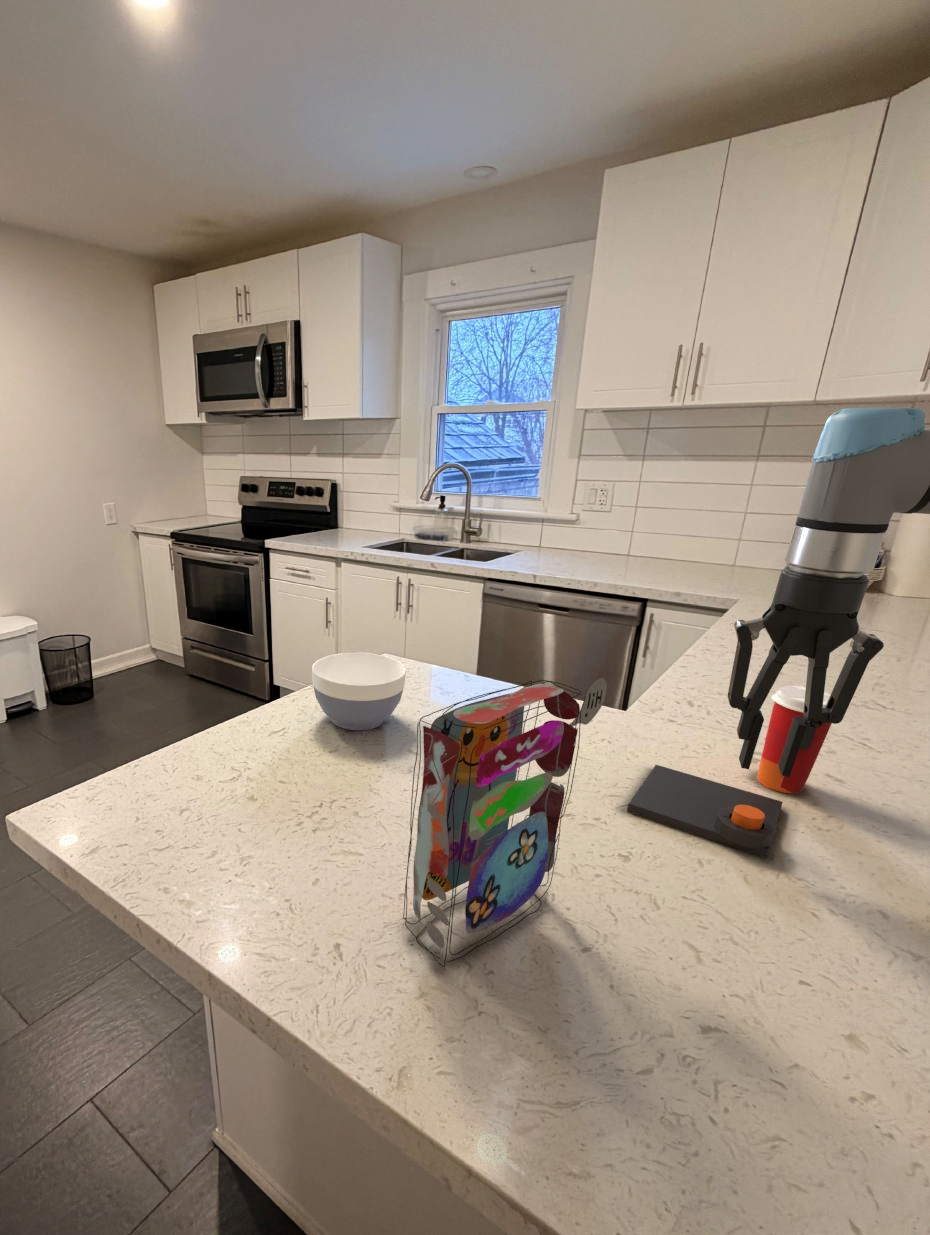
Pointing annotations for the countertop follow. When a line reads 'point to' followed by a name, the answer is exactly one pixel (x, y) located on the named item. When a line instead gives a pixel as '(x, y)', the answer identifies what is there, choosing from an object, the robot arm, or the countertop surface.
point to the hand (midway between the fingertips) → (763, 767)
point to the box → (492, 803)
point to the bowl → (358, 688)
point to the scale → (705, 808)
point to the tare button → (748, 817)
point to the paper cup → (783, 712)
